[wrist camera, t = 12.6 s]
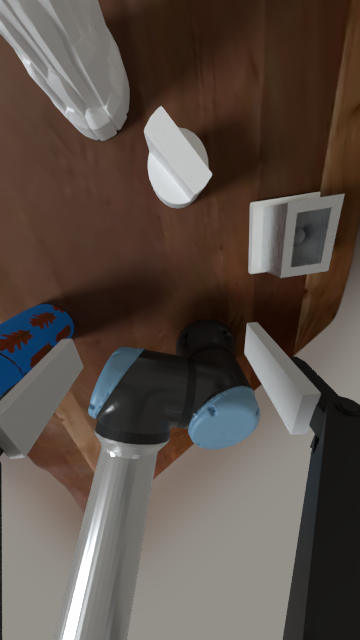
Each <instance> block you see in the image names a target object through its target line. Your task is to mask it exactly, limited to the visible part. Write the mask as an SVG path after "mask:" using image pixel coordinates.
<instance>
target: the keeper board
mask: <svg viewBox="0 0 360 640" xmlns="http://www.w3.org/2000/svg"><path fill="white" fill-rule="evenodd" d="M313 198H320V192H315V193H308V194H302V195H296V196H289V197H283V198H277V199H270V200H264V201H258V202H252V203H250V228H249V267H248V273H250V274H254V273H261V272H266V271H264V270H262V269H261V251H262V232H263V213H264V208H267V207H271V206H275V205H280V204H284V203H288V202H295V201H301V200H307V199H313ZM297 219H298V213H297ZM297 219H296V227H297ZM296 227H295V235H294V243H293V251H294V246H297V245H299V244H301V243H302V242H303V240H304V239H305V232H304V230H303V229H302V228H296ZM293 251H292V257H293Z"/></svg>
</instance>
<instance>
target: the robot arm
mask: <svg viewBox="0 0 360 640" xmlns="http://www.w3.org/2000/svg"><path fill="white" fill-rule="evenodd" d="M176 354H177V355H172V354H166V353H161V352H155V351H150V350H145V348H142V349H139V348H132V347H121V348H119V349H117V350H116V351H115V352H114V353H113V354H112V355H111V356H110V358H109V360H108V361H107V363H106V365H105V366H104V368H103V370H102V372H101V374H100V376H99V379H98V381H97V383H96V386H95V388H94V391H93V394H92V397H91V401H90V406H89V410H88V412H89V415H90V416H92V417H93V418H98V421H97V425H96V428H95V435H96V436H97V438H98V440H99V441H100V443H101V446H102V447H101V451H100V455H99V459H98V463H97V467H96V471H95V475H94V479H93V483H92V487H91V491H90V495H89V499H88V503H87V507H86V511H85V515H84V519H83V523H82V527H81V531H80V535H79V539H78V543H77V547H76V551H75V555H74V559H73V563H72V566H71V571H70V574H69V579H68V582H67V586H66V591H65V594H64V598H63V603H62V606H61V610H60V614H59V618H58V623H57V627H56V631H55V635H54V638H53V640H127V635H128V629H129V623H130V616H131V611H132V605H133V598H134V592H135V586H136V579H137V574H138V568H139V562H140V556H141V550H142V543H143V537H144V531H145V525H146V519H147V513H148V507H149V501H150V495H151V488H152V482H153V476H154V470H155V464H156V458H157V452H158V451H159V450H160V449H161V448H162V447H163V446H165V445H166V444H167V443H168V442H169V437H170V431H171V427H178V428H185V429H188V433H189V435H190V437H191V440H192V441H193V442H194V443H195V444H197V445H198V446H199V447H201V448H205V449H221V448H225V447H229V446H232V445H235V444H237V443H238V442H241V441H242V440H244V439H245V438H247V437H248V436H249V435H250V434H251V433H252V432H253V431H254V430H255V428H256V427H257V425H258V423H259V420H260V409H259V406H258V403H257V401H256V399H255V394H254V392H253V390H252V388H251V386H250V385H249V383H248V381H247V379H246V377H245V375H244V373H243V371H242V369H241V367H240V365H239V363H238V361H237V359H236V343H235V339H234V337H233V335H232V333H231V331H230V330H229V329H228V328H227V327H226V326H225V325H224V324H222V323H220V322H217V321H214V320H200V321H197V322H194V323H192V324H190V325H188V326H187V327H185V328H184V329H183V330H182V331H181V333H180V334H179V336H178V338H177V342H176ZM244 354H245V355H246V357H247V359H248V361H249V362H250V364H251V366H252V368H253V369H254V371H255V373H256V375H257V376H258V378H259V380H260V382H261V383H262V385H263V387H264V389H265V390H266V392H267V394H268V395H269V397H270V399H271V401H272V403H273V404H274V406H275V408H276V410H277V411H278V413H279V415H280V417H281V418H282V420H283V422H284V424H285V425H286V427H287V429H288V431H289V432H290V434H291V435H297V434H306V433H307V431H308V429H309V426H310V427H311V428H312V430H313V431H314V433H315V435H314V438H313V441H312V443H311V446H310V447H311V448H312V452H311V458H310V465H309V471H308V478H307V484H306V491H305V498H304V504H303V511H302V517H301V524H300V531H299V537H298V544H297V550H296V557H295V563H294V570H293V576H292V583H291V590H290V596H289V602H288V609H287V615H286V622H285V629H284V636H283V640H360V405H359V404H357V403H356V402H354V401H352V400H350V399H348V398H345V397H341V396H338V395H337V394H336V392H334V390H333V389H331V387H330V386H328V384H327V383H325V382H324V380H323V379H321V377H320V376H319V375H317V373H316V372H315V371H314V370H312V368H311V367H310V366H309V365H308V364H307V363H306V362H304V361H303V360H301V359H299V358H298V357H288V356H287V355H286V354H285V353H284V351H283V350H282V349H281V348H280V347H279V346H278V345H277V344H276V342H275V341H274V340H273V339H272V338H271V337H270V336H269V335H268V334H267V332H266V331H265V330H264V329H263V328H262V327H261V326H260V325H259V324H258V322H252V323H247V327H246V338H245V349H244ZM82 369H83V364H82V362H81V359H80V357H79V355H78V352H77V350H76V347H75V345H74V342H73V340H72V339H62V340H61V341H60V342H59V343H58V344H57V345H56V346H55V347H54V348H53V349H52V350H51V351H50V352H49V353H48V354H47V355H46V356H45V357H44V358H43V359H42V360H41V361H40V362H39V363H38V364H37V365H36V366H35V367H34V368H33V369H32V370H31V371H30V372H29V373H28V374H27V375H26V376H25V377H24V378H23V379H22V380H21V381H19V382H17V383H16V384H14V385H13V386H11V387H10V388H8V389H7V390H6V391H5V392H4V393H3V394H2V395H1V397H0V456H1V455H2V453H3V452H4V453H5V454H6V455H7V456H8V457H9V458H10V459H12V458H24V457H26V455H27V454H28V452H29V451H30V449H31V448H32V446H33V445H34V443H35V442H36V440H37V438H38V437H39V435H40V434H41V432H42V431H43V429H44V428H45V426H46V424H47V423H48V421H49V420H50V418H51V417H52V415H53V414H54V412H55V411H56V409H57V407H58V406H59V404H60V403H61V401H62V400H63V398H64V397H65V395H66V394H67V392H68V390H69V389H70V387H71V386H72V384H73V383H74V381H75V380H76V378H77V377H78V375H79V373H80V372H81V370H82ZM1 517H2V514H1V462H0V640H2V538H1V537H2V532H1V531H2V523H1V522H2V521H1V520H2V519H1Z"/></svg>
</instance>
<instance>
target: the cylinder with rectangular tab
mask: <svg viewBox="0 0 360 640" xmlns="http://www.w3.org/2000/svg"><path fill="white" fill-rule="evenodd" d="M144 134H145V138H146V141H147V144H148V148H149V151H150V153H149V157H148V173H149V179H150V181H151V184H152V186H153V188H154V191H155V193H156V195H157V196H158V197H159V199H160V200H161V201H162V202H163V203H164V204H165V205H167V206H170V207H172V208H183V207H186V206H188V205H190V204H191V203H192V202H193V201H194V200H195V199H196V198H197V196H198V195H199V194H200V192H201V191H202V190H203V188H204V187H205V186H206V184H207V183H208V181H209V180H210V178H211V176H212V173H211V171H210V170H209V167H208V157H207V153H206V150H205V147H204V146H203V144H202V142H201V140H200V139H199V138H198V137H197V136H196V135H195V134H194V133H193V132H191V131H189V130H187V129H184V128H178V127H177V126H176V125H175V123H174V122H173V121H172V119H171V118H170V117H169V115H168V114H167V113H166V111H165V110H164V109H163V107H162V106H161V107H159V108H158V109H157V110H156V111H155V112H154V113H153V115H152V116H151V117H150V119H149V121H148V123H147V125H146V127H145V130H144Z"/></svg>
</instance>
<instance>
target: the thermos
mask: <svg viewBox="0 0 360 640" xmlns="http://www.w3.org/2000/svg"><path fill="white" fill-rule="evenodd" d="M73 333H74V324H73V321H72V319H71V318H70V316H69V315H68V313H66V312H65V311H64V310H62V309H61V308H59V307H57V306H54V305H50V304H41V305H36V306H34V307H32V308H30V309H28V310H25V311H23V312H21V313H20V314H18V315H16V316H14V317H12V318H11V319H9V320H7V321H5V322H3V323H1V324H0V397H1V395H2V394H3V393H4V392H5V391H6V390H7V389H8V388H10V387H11V386H13V385H14V384H16V383H17V382H19V381H21V380H22V379H23V378H24V377H25V376H26V375H27V374H28V373H29V372H30V371H31V370H32V369H33V368H34V367H35V366H36V365H37V364H38V363H39V362H40V361H41V360H42V359H43V358H44V357H45V356H46V355H47V354H48V353H49V352H50V351H51V350H52V349H53V348H54V347H55V346H56V345H57V344H58V343H59V342H60V341H61V340H62V339H70V338H71V336H72V335H73Z"/></svg>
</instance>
